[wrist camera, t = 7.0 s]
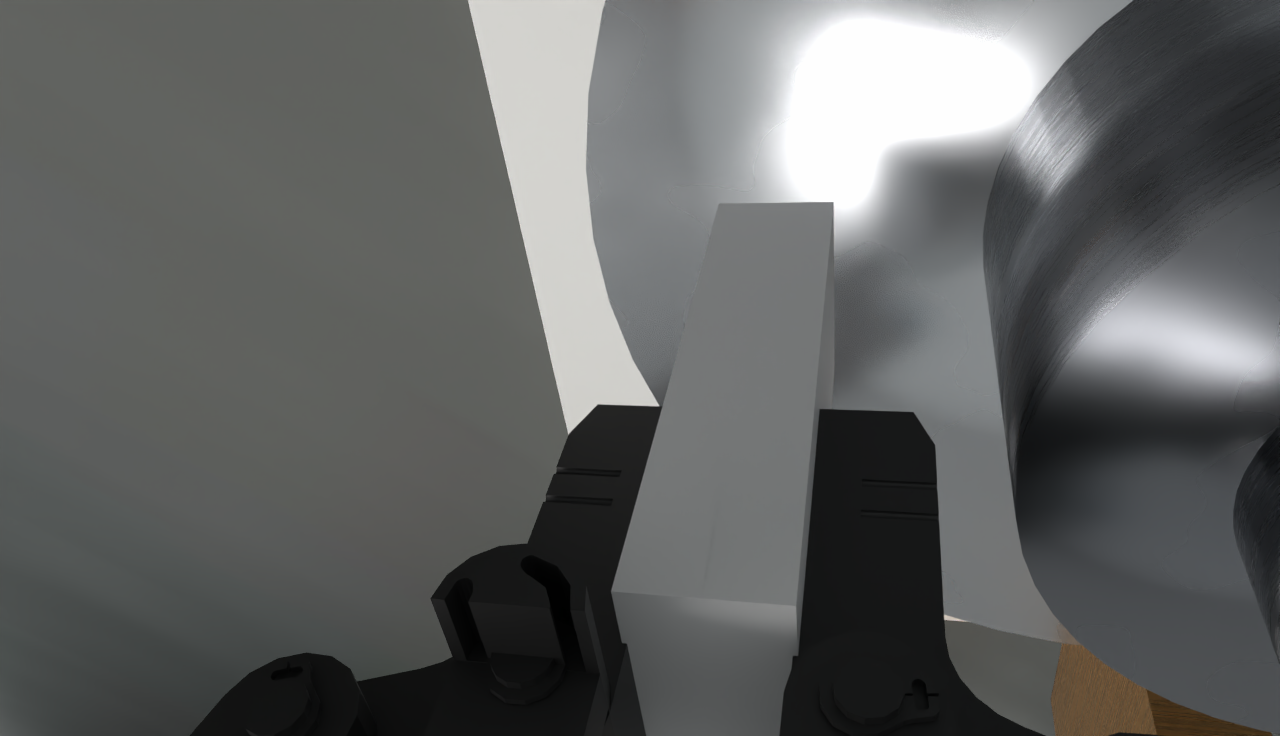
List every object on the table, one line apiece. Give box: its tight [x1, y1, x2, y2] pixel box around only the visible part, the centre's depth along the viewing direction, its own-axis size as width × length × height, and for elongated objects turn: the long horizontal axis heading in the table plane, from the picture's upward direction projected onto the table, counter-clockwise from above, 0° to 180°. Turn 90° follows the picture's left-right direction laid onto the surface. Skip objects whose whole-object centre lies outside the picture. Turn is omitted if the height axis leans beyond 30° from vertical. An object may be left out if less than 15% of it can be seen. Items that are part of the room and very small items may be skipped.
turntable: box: [586, 0, 1272, 736], centre depth 13 cm, size 18×22×7 cm
